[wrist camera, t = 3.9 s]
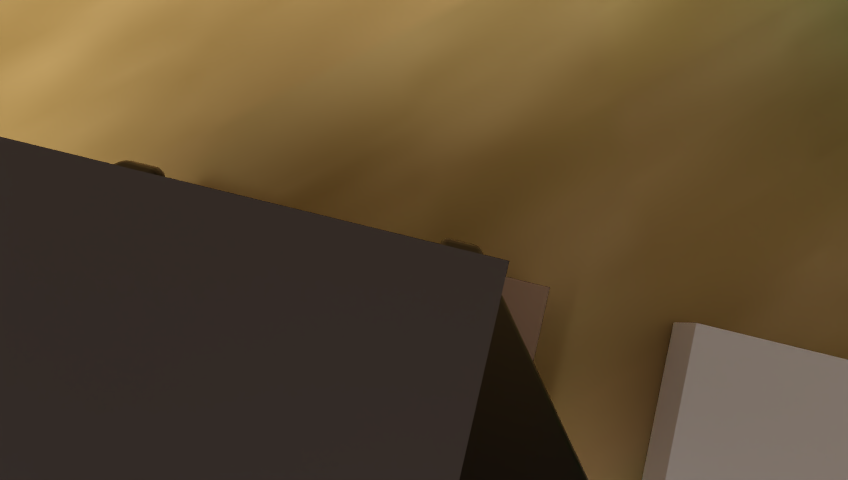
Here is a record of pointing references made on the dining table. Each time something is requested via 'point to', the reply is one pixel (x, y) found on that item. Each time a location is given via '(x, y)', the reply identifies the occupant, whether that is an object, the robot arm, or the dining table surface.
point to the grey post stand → (230, 333)
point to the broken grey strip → (748, 410)
